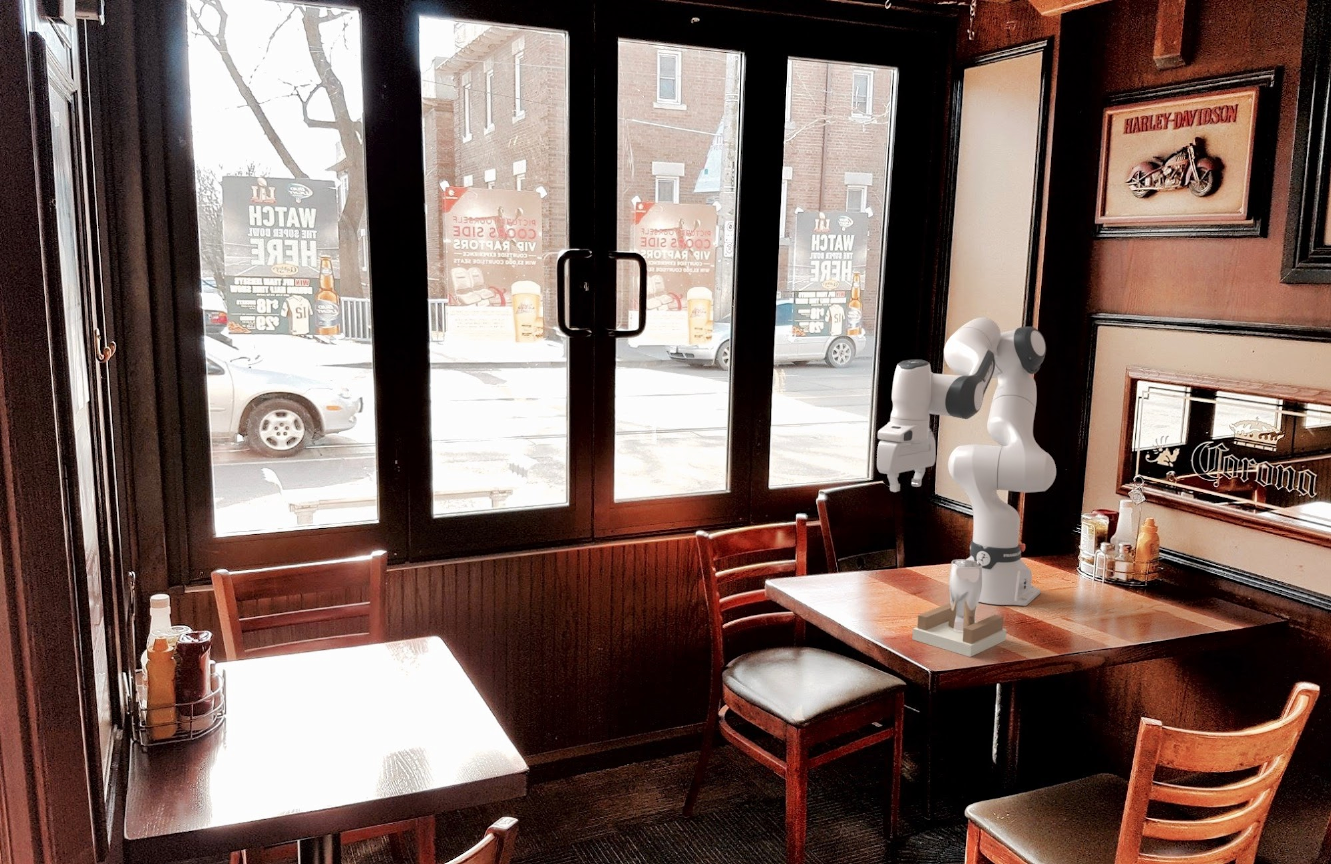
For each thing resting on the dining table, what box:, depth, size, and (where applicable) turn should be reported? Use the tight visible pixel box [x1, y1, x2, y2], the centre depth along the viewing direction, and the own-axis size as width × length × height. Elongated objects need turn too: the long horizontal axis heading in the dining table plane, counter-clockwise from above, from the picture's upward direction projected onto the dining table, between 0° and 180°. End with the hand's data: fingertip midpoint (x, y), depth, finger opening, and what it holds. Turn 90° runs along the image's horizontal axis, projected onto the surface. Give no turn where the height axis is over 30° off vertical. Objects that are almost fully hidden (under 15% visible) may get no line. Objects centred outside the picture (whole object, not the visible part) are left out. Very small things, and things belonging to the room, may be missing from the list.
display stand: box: [911, 602, 1008, 658], centre depth 219 cm, size 16×14×6 cm
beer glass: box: [948, 558, 982, 633], centre depth 218 cm, size 7×7×15 cm
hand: (905, 488), depth 231 cm, fingers open, 8 cm apart
